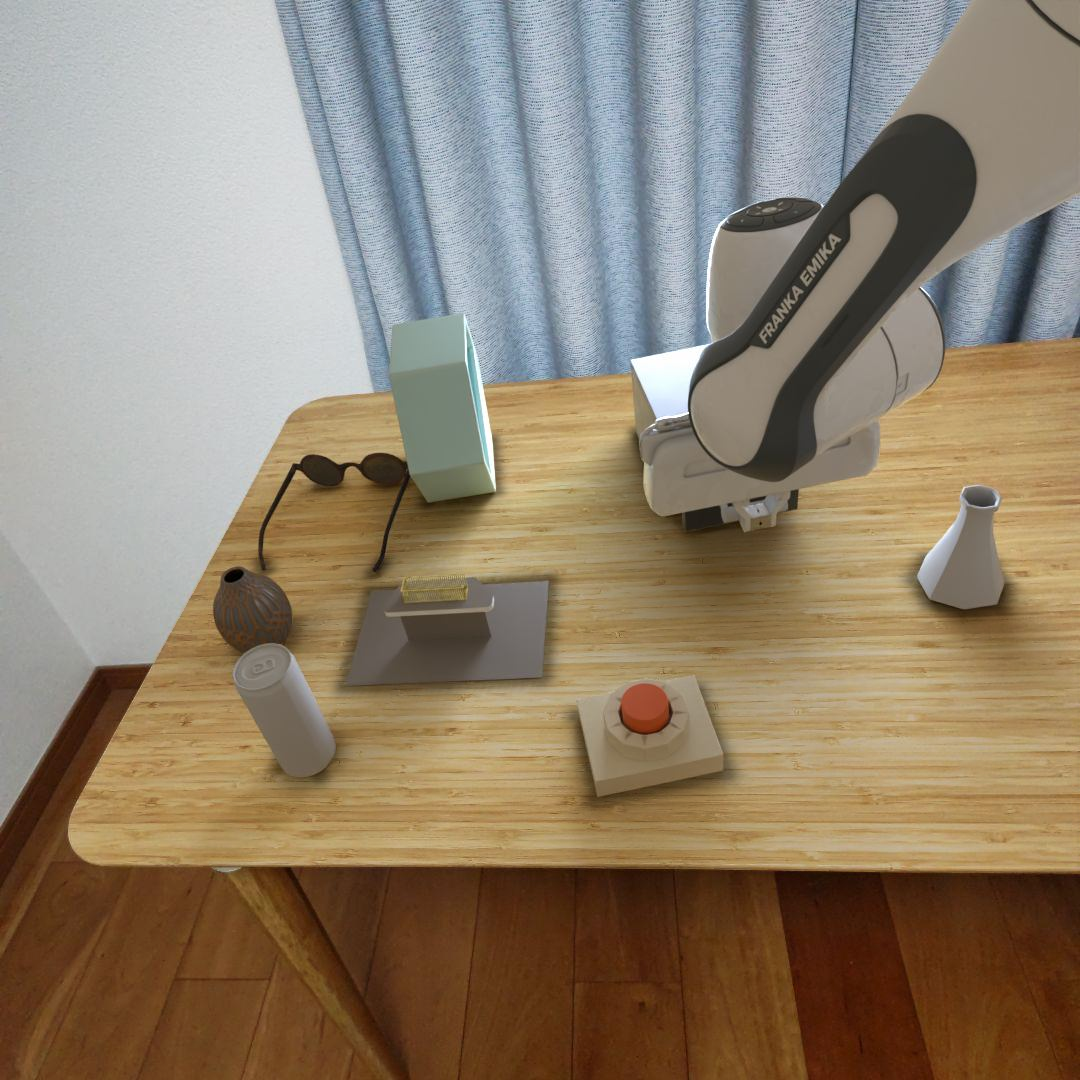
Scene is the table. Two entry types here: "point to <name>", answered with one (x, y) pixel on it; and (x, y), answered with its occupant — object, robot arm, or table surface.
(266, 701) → the beverage can
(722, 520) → the cabinet drawer
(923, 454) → the table surface
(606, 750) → the block
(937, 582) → the flask
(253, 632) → the vase
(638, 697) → the button
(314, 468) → the eyeglasses
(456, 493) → the planter
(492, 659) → the platform
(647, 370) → the single drawer cabinet
